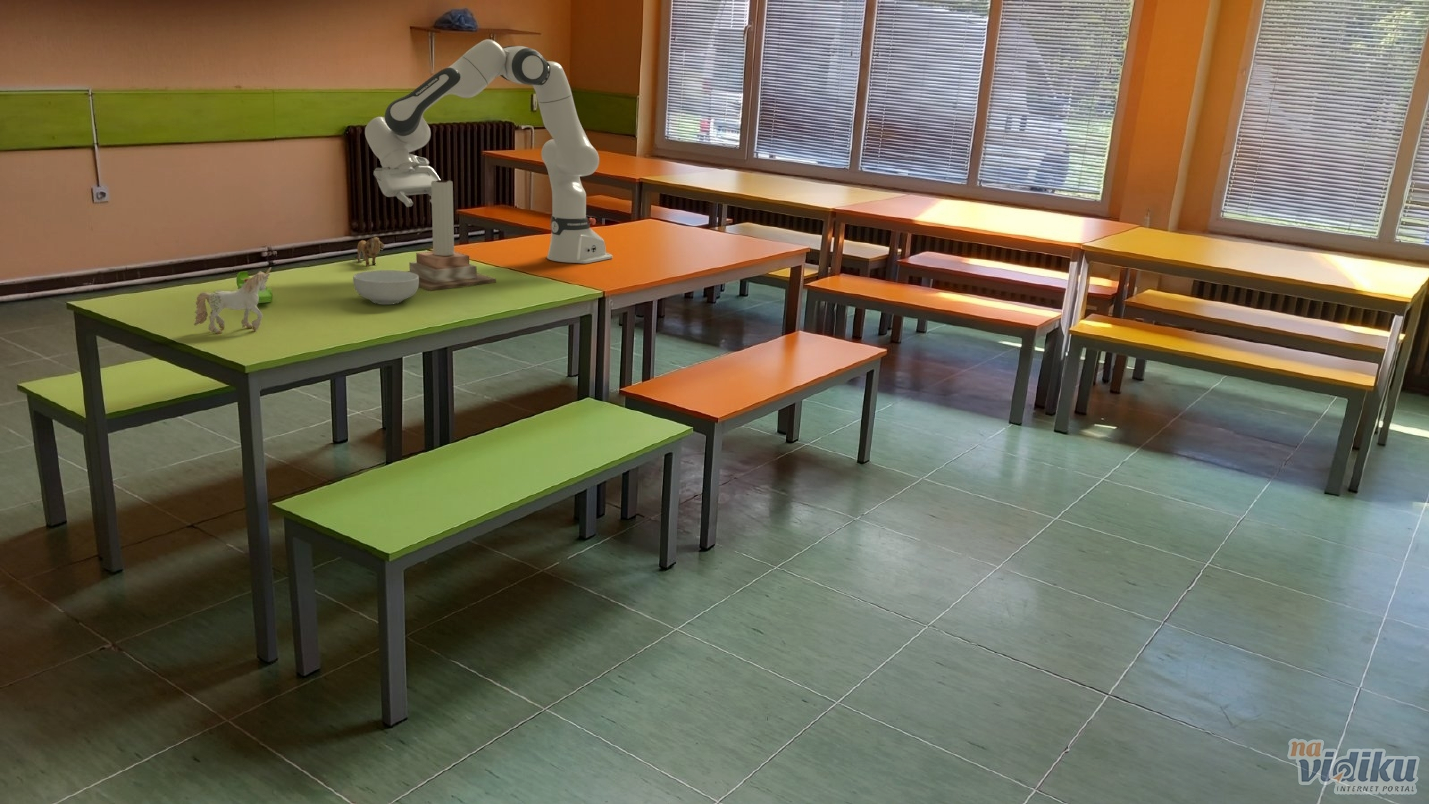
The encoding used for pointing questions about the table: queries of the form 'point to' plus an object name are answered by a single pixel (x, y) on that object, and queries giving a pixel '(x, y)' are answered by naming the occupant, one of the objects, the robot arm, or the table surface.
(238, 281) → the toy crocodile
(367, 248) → the lion figurine
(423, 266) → the brown square stepped pedestal
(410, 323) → the table surface
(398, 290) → the cereal bowl
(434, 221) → the paper towel roll
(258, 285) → the unicorn figurine
